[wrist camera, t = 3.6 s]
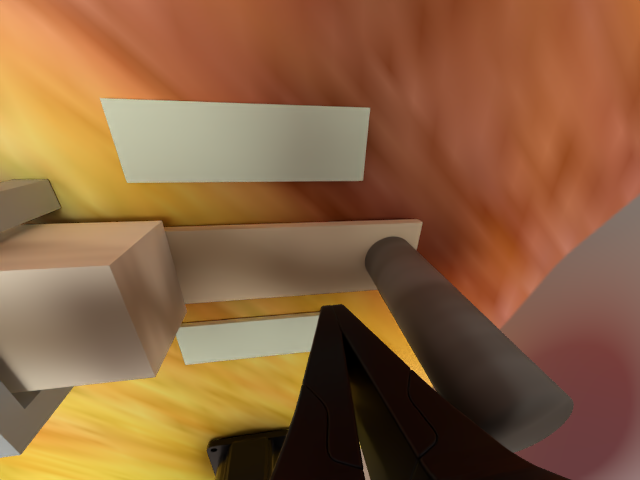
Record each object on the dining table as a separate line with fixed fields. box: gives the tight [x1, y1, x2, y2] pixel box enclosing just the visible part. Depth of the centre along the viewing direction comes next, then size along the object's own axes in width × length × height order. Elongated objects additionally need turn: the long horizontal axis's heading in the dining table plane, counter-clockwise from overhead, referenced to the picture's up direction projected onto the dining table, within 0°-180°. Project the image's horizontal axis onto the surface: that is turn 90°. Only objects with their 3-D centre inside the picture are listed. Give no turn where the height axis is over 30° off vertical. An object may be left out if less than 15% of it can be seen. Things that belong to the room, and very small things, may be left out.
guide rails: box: [100, 98, 370, 365], centre depth 13 cm, size 14×10×1 cm
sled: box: [0, 219, 573, 453], centre depth 9 cm, size 5×18×8 cm, turn 89°
